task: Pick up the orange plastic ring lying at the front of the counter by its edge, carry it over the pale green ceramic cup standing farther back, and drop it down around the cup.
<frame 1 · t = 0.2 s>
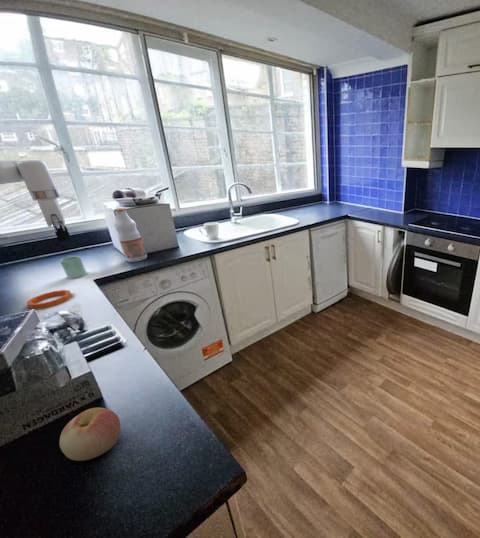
hand: (64, 238, 117), 24 cm above the table, tool pointing down, fingers open, 9 cm apart
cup: (77, 275, 142), on the table
ring: (51, 301, 118), on the table
apple: (100, 448, 59), on the table
fruit juice: (137, 259, 161), on the table
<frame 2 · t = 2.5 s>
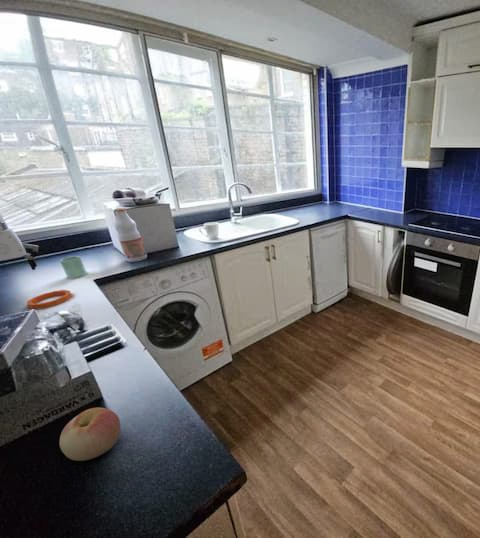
hand: (16, 272, 110), 14 cm above the table, tool pointing down, fingers open, 9 cm apart
nothing on the table moved.
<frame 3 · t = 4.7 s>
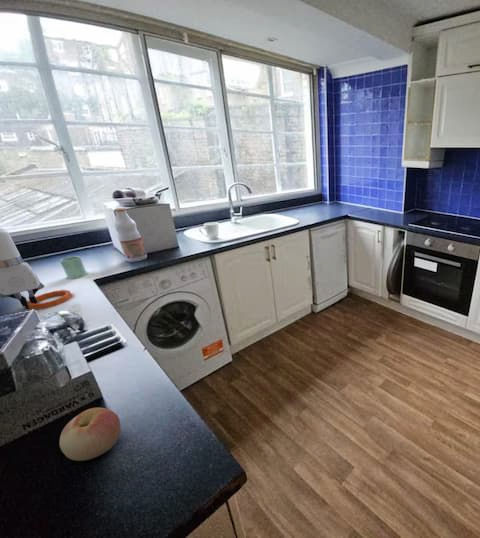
hand: (31, 305, 115), 0 cm above the table, tool pointing down, fingers closed on ring, 1 cm apart
ring: (51, 301, 118), on the table, touching gripper
everything else where it was.
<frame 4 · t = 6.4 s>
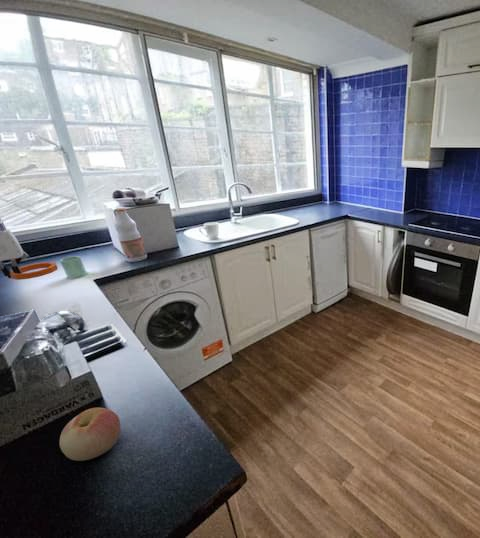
hand: (14, 276, 110), 13 cm above the table, tool pointing down, fingers closed on ring, 1 cm apart
ring: (35, 272, 113), point 13 cm above the table, touching gripper
everything else where it was.
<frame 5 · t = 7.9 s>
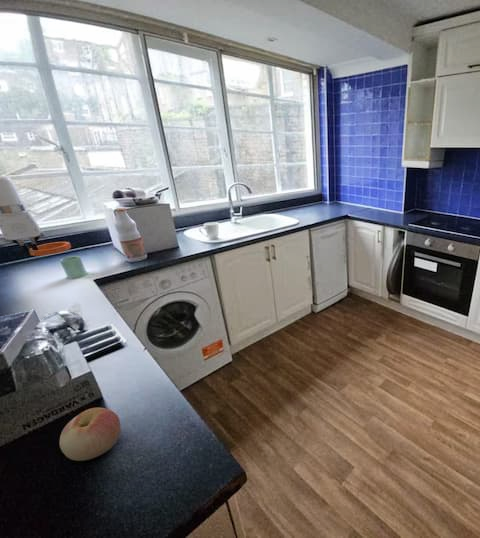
hand: (32, 253, 122), 17 cm above the table, tool pointing down, fingers closed on ring, 1 cm apart
ring: (51, 250, 126), point 17 cm above the table, touching gripper
everything else where it was.
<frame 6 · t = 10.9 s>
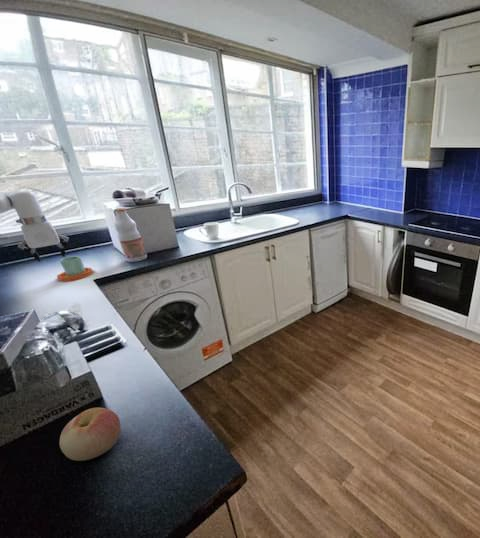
hand: (51, 258, 134), 11 cm above the table, tool pointing down, fingers open, 7 cm apart
ring: (76, 276, 142), on the table
everything else where it was.
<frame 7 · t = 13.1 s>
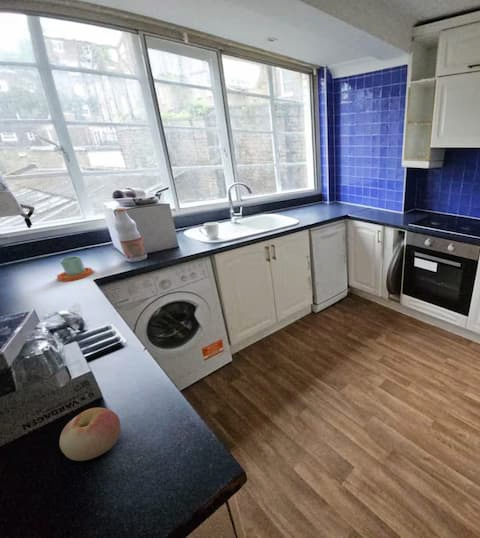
hand: (13, 229, 125), 26 cm above the table, tool pointing down, fingers open, 9 cm apart
nothing on the table moved.
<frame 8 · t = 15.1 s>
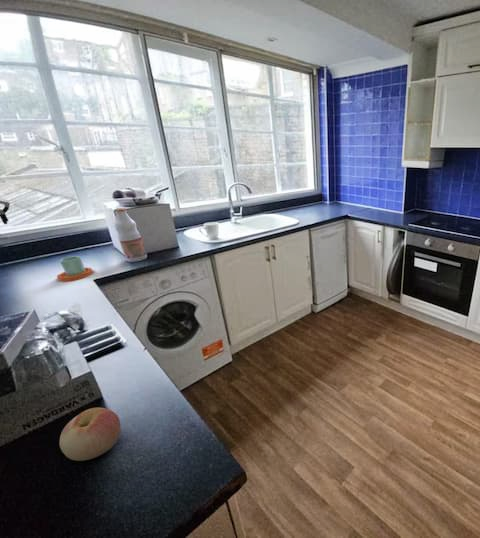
nothing on the table moved.
at the end: ring 0.5 cm off-centre in the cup, point 0.0 cm above the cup's base; ring tilted 0°; the gripper is holding nothing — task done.
